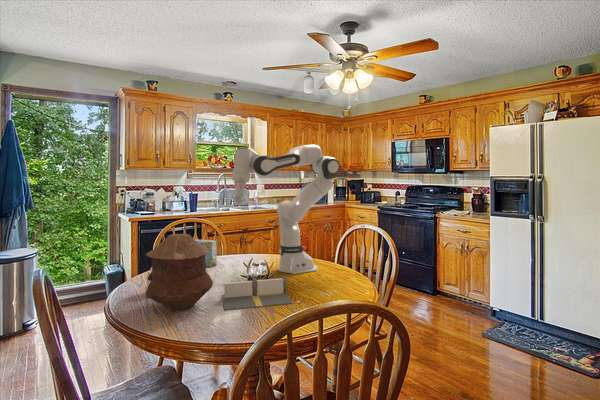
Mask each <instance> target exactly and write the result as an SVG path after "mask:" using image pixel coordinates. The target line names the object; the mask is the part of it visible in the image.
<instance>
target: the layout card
mask: <svg viewBox="0 0 600 400" xmlns="http://www.w3.org/2000/svg"><path fill="white" fill-rule="evenodd" d="M221 297H222V305H223V309H224V311H233V310H243V309H253V308H254V307H255V308H262V307H263V308H264V307H274V306H281V305H291V304H293V301H292V299H290V297H289V296H288V295H287V292H286V293H283V292H282V293H271V294H261V295H258V294H257V296H253V291H252V295H250V296H239V297H229V298H225V297H224V294H221Z"/></svg>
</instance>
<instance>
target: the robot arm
mask: <svg viewBox="0 0 600 400" xmlns="http://www.w3.org/2000/svg"><path fill="white" fill-rule="evenodd" d="M308 165H310V169H311V171H312V172H313V173H315V174H316V176H315V178H314V179H313V180H311V181H310V182H309V183H307V185H305V186H304V187H303V188H302V189H300V190H299V191H298V193H297V195H296V196H295V197H293V199H292V200H283V201H281V202H279V204H278V205H277V207H276V212H277V214H278V215H277V216H278V222H279V229H280V245H279V255H280V257H279V263H278V268H277V270H278V272H282V273H288V274H292V275H295V274H304V273H309V272H316V271H318V266H317V265H315V263H314V260H313V258H312V256H310V255H309V254H308V253H307V252H305V251H306V249H307V247H306V246H305V245H302V244H301V230H300V227H299V222H300V221H303V219H304V217H305V216H306V214H307V213H308V211H309V210H311V208H312V207H313V206H314V205H315V204H316V203H318V201H320V200H321V199H323V198H324V197H325V196H326V195H327V193H329V192H330V190H331V189H332V188H333V185H334V182H333V179H335V178H336V175H337V174H338V173H339V171H340V168H341V164H340V161H339V160H338V159H337V158H335V157H332V156H327V155H323V153H322V149H321V147H320V146H319V145H317V144H304V145H298V146H296V147H293V148H290V149H289V150H288V152H287V153H286V154H282V155H279V156H268V155H260V154H259V153H257V152H256V151H254V149H253V148H252V147H245V146H243V147H238V148H237V149H236V150H235V153H234V157H233V169H232V174H231V176H232V177H231V181H232V182H233V184H234V193H235V203H236V206H238V207H239V206H241V201H242V198H244V194H245V187H246V185H247V183H249V182H250V177H251V176H250V175H251V172H252V173H254V174H258V175H259V176H264V177H265V176H268V175H270V174H272V173H273V172H275V171H276V170H280V169H283V168H288V167H304V166H308Z"/></svg>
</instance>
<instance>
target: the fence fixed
mask: <svg viewBox="0 0 600 400" xmlns="http://www.w3.org/2000/svg"><path fill="white" fill-rule="evenodd" d="M252 281H253V283H252V292H253V296H257V294H258V295H261V294H271V293H282V292H283V293H286V294H287V276H285V275H283V276H282V277H280V278H267V279H257V278H252Z"/></svg>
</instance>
